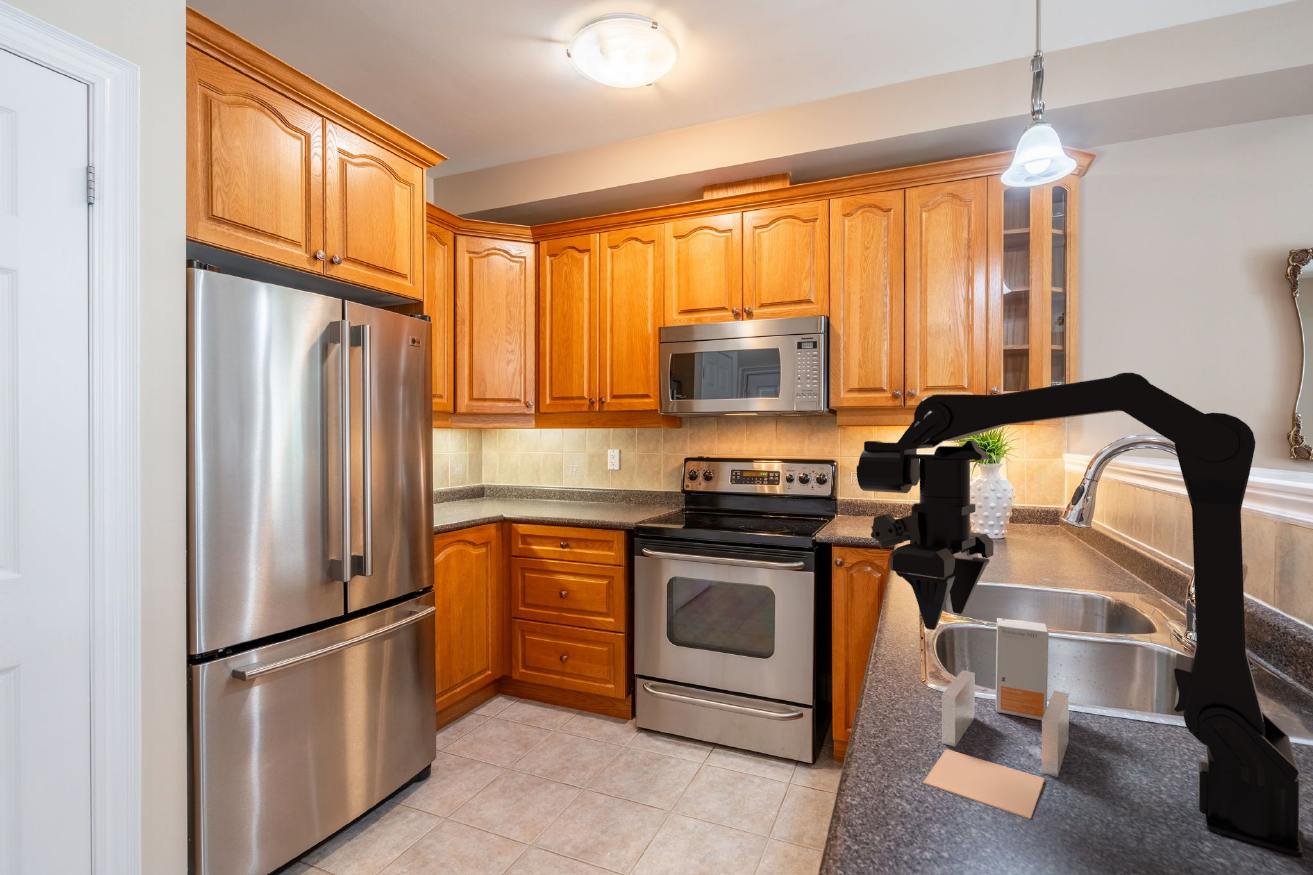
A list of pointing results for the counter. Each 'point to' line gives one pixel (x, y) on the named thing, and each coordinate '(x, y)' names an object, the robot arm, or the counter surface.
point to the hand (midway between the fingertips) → (944, 620)
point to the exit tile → (986, 783)
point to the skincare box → (1021, 668)
